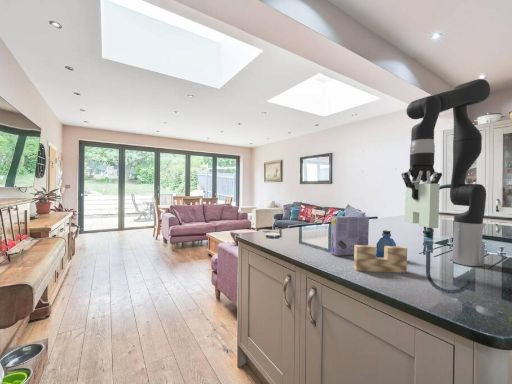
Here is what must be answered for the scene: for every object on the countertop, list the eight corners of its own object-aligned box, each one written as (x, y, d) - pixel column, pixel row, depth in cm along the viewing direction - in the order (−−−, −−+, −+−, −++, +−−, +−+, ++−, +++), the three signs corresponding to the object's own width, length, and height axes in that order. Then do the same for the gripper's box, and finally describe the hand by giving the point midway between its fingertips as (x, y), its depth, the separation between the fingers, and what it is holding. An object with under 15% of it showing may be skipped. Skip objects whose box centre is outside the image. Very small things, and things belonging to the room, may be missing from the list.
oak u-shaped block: (402, 270, 96) (403, 246, 95) (406, 272, 93) (407, 248, 92) (353, 268, 97) (354, 244, 97) (356, 270, 94) (356, 246, 94)
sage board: (412, 221, 101) (413, 184, 101) (438, 228, 85) (439, 183, 85) (404, 221, 101) (405, 183, 101) (429, 227, 85) (430, 183, 85)
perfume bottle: (395, 258, 112) (396, 231, 112) (391, 260, 108) (392, 232, 107) (380, 255, 116) (381, 229, 116) (376, 257, 112) (376, 230, 111)
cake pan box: (363, 251, 123) (364, 215, 123) (370, 253, 119) (371, 216, 118) (329, 253, 117) (330, 216, 117) (336, 256, 112) (337, 217, 112)
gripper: (435, 154, 96) (434, 199, 96) (397, 154, 97) (396, 199, 97) (449, 151, 88) (447, 200, 89) (407, 151, 89) (406, 200, 90)
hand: (420, 199), depth 93 cm, fingers closed on sage board, 3 cm apart
